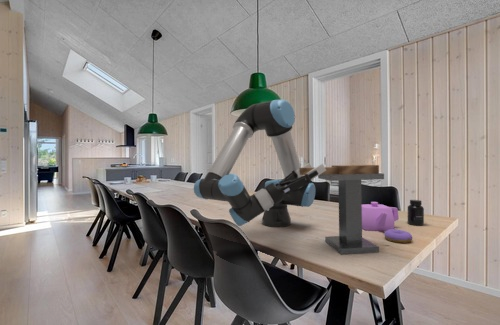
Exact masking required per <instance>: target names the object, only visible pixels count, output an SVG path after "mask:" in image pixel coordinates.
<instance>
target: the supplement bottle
mask: <svg viewBox="0 0 500 325" xmlns="http://www.w3.org/2000/svg"><path fill="white" fill-rule="evenodd" d="M424 218H425V208H424V207H423V205H422V200H420V199H409V205H407V224H408V225H410V226H417V227H421V226H424V225H425V224H424V222H425V219H424Z"/></svg>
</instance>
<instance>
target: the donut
mask: <svg viewBox="0 0 500 325" xmlns="http://www.w3.org/2000/svg"><path fill="white" fill-rule="evenodd" d="M383 235H384V238H385V239H386V240H388V241H390V242H393V243H398V244H399V243H400V244H407V243H411V241H413V236H412V233H410V232H409V231H405V230H401V229H398V228H397V229H395V228H394V229H389V230H387V231H384V233H383Z"/></svg>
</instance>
